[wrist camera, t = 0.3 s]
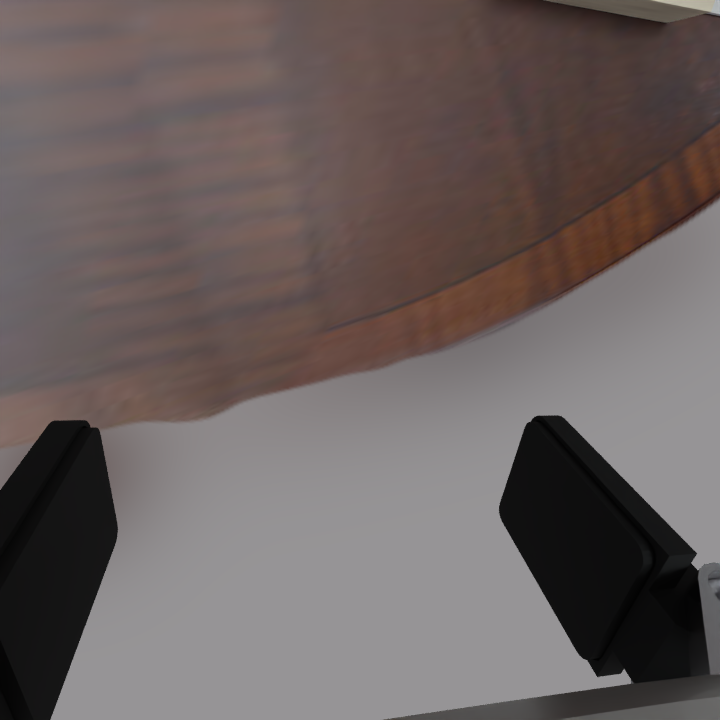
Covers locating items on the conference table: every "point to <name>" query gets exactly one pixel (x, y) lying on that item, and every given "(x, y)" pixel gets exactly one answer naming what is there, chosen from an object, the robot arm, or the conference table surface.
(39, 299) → the conference table surface
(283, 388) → the conference table surface
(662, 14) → the beige flat block
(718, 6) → the mat
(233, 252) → the conference table surface
